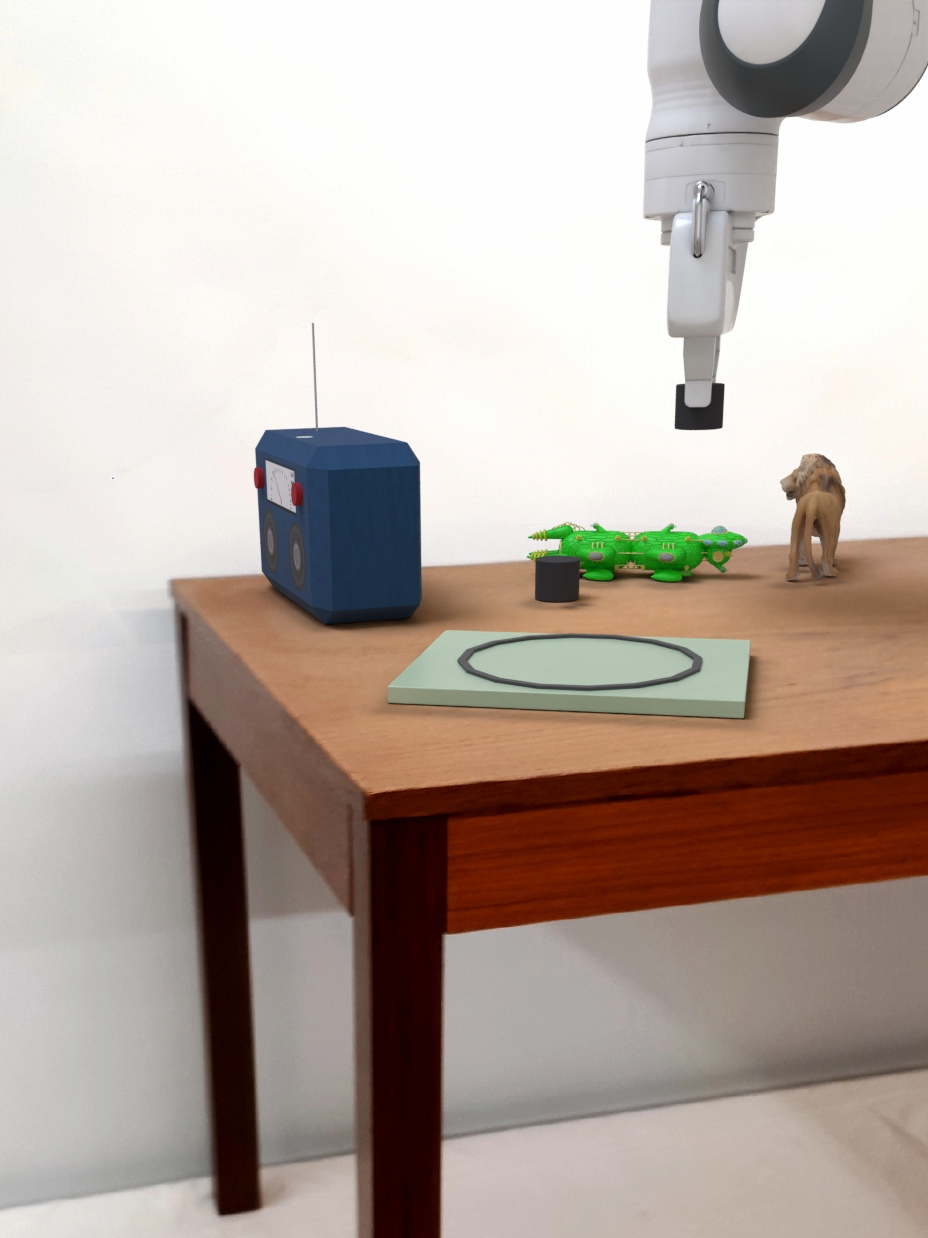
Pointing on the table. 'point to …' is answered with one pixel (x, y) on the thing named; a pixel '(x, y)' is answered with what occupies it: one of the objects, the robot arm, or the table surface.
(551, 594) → the eye dot
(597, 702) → the board
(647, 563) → the green toy spaceship
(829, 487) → the lion figurine
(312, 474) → the radio
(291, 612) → the table surface
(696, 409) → the eye dot
